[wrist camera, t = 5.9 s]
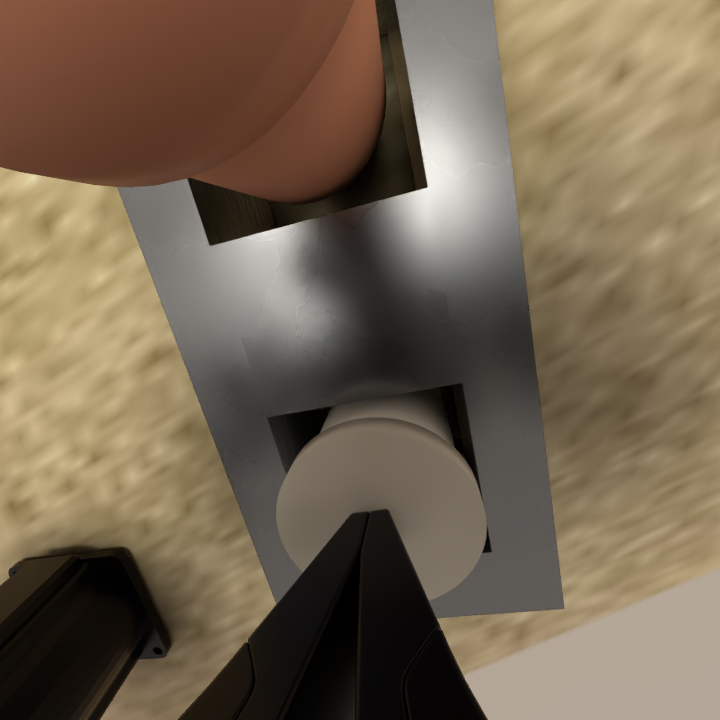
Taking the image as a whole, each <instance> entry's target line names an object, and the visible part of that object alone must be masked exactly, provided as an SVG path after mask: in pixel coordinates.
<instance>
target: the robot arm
mask: <svg viewBox="0 0 720 720" xmlns="http://www.w3.org/2000/svg"><path fill="white" fill-rule="evenodd" d="M9 576H10V578H9V579H8V580H7V581H5V582H4V583H3V584H2V585H1V586H0V720H100V719H101V717H102V715H103V714H104V712H105V711H106V709H107V708H108V706H109V704H110V703H111V701H112V700H113V698H114V697H115V695H116V693H117V692H118V690H119V689H120V687H121V686H122V684H123V682H124V681H125V679H126V678H127V676H128V675H129V673H130V671H131V670H132V668H133V667H134V665H135V664H136V662H137V660H138V659H154V658H164V657H165V656H167V654H168V652H169V650H170V649H171V646H172V644H171V641H170V639H169V637H168V635H167V633H166V631H165V629H164V627H163V625H162V623H161V621H160V619H159V617H158V615H157V613H156V611H155V609H154V607H153V605H152V603H151V601H150V599H149V597H148V595H147V593H146V591H145V589H144V587H143V585H142V583H141V581H140V579H139V577H138V575H137V573H136V571H135V569H134V567H133V565H132V563H131V561H130V559H129V557H128V555H127V554H126V553H125V552H124V551H121V550H118V549H114V550H106V551H98V552H89V553H81V554H73V555H65V556H57V557H48V558H40V559H32V560H24V561H19V562H17V563H16V564H15V565H14V566H13V567H11V568H10V569H9ZM248 643H249V644H248ZM248 643H247V642H246V643H244V644H243V645H242V647H241V648H240V649H239V650H238V652H237V653H236V654H235V655H234V656H233V658H232V659H231V660H230V661H229V662H228V664H227V665H226V666H225V667H224V668H223V669H222V671H221V672H220V673H219V674H218V675H217V676H216V678H215V679H214V680H213V681H212V682H211V683H210V685H209V686H208V687H207V688H206V689H205V690H204V691H203V693H202V694H201V695H200V696H199V697H198V698H197V699H196V700H195V701H194V702H193V703H192V704H191V706H190V707H189V708H188V709H187V710H186V711H185V712H184V713H183V714H182V715H181V716H180V718H179V719H178V720H488V719H487V718H486V716H485V714H484V712H483V711H482V709H481V707H480V705H479V703H478V702H477V700H476V698H475V697H474V695H473V693H472V691H471V689H470V688H469V686H468V684H467V682H466V681H465V678H464V676H463V674H462V672H461V670H460V668H459V666H458V664H457V662H456V660H455V658H454V656H453V654H452V652H451V649H450V647H449V645H448V643H447V640H446V638H445V636H444V633H443V631H442V630H441V628H440V625H439V623H438V620H437V618H436V616H435V614H434V611H433V609H432V607H431V604H430V602H429V600H428V598H427V595H426V593H425V591H424V589H423V586H422V584H421V582H420V579H419V577H418V575H417V573H416V570H415V568H414V566H413V564H412V561H411V559H410V557H409V555H408V552H407V550H406V548H405V545H404V543H403V541H402V539H401V536H400V534H399V532H398V530H397V527H396V525H395V523H394V520H393V518H392V516H391V514H390V511H389V510H388V509H381V510H373V511H371V512H370V513H369V512H368V511H365V512H357V513H352V514H351V515H350V516H349V517H348V518H347V519H346V520H345V522H344V523H343V524H342V525H341V527H340V528H339V529H338V530H337V531H336V533H335V534H334V535H333V536H332V537H331V539H330V540H329V541H328V542H327V544H326V545H325V546H324V547H323V548H322V550H321V551H320V552H319V553H318V555H317V556H316V557H315V558H314V559H313V561H312V562H311V563H310V564H309V565H308V567H307V568H306V569H305V570H304V572H303V573H302V574H301V575H300V576H299V578H298V579H297V580H296V581H295V582H294V584H293V585H292V586H291V587H290V589H289V590H288V591H287V592H286V593H285V595H284V596H283V597H282V598H281V600H280V601H279V602H278V603H277V604H276V606H275V607H274V608H273V609H272V610H271V612H270V613H269V614H268V615H267V617H266V618H265V619H264V620H263V621H262V623H261V624H260V625H259V626H258V627H257V629H256V630H255V631H254V632H253V634H252V635H251V636H250V637H249V639H248Z"/></svg>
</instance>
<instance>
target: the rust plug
mask: <svg viewBox="0 0 720 720" xmlns="http://www.w3.org/2000/svg"><path fill="white" fill-rule="evenodd" d="M385 110H386V84H385V76H384V68H383V60H382V52H381V44H380V36H379V29H378V21H377V13H376V5H375V0H0V167H2V168H6V169H10V170H15V171H19V172H24V173H30V174H35V175H41V176H47V177H52V178H58V179H64V180H70V181H75V182H81V183H87V184H92V185H102V186H113V187H141V186H156V185H160V184H165V183H169V182H174V181H178V180H183V179H187V178H193V179H196V180H200V181H203V182H207V183H210V184H214V185H217V186H221V187H224V188H228V189H231V190H235V191H238V192H242V193H245V194H249V195H252V196H256V197H259V198H263V199H266V200H270V201H273V202H278V203H282V204H291V205H299V204H309V203H314V202H318V201H321V200H323V199H326V198H328V197H330V196H332V195H334V194H336V193H338V192H339V191H341V190H342V189H343V188H345V187H346V186H348V185H349V184H350V183H351V182H352V181H353V180H354V179H355V178H356V177H357V176H358V175H359V173H360V172H361V171H362V170H363V169H364V167H365V166H366V164H367V163H368V161H369V159H370V158H371V156H372V154H373V152H374V150H375V148H376V146H377V144H378V141H379V138H380V135H381V132H382V128H383V123H384V118H385Z"/></svg>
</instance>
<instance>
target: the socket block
mask: <svg viewBox="0 0 720 720" xmlns="http://www.w3.org/2000/svg"><path fill="white" fill-rule="evenodd" d="M375 5H376V13H377V21H378V29H379V36H382V35H385V34H387V35H388V40H389V46H390V51H391V57H392V62H393V67H394V73H395V78H396V84H397V89H398V95H399V100H400V106H401V111H402V116H403V122H404V127H405V133H406V138H407V144H408V149H409V155H410V160H411V165H412V171H413V176H414V182H415V187H416V191H413V192H409V193H405V194H402V195H398V196H394V197H391V198H387V199H383V200H379V201H376V202H372V203H368V204H365V205H361V206H357V207H354V208H350V209H346V210H343V211H339V212H335V213H331V214H328V215H324V216H320V217H317V218H313V219H309V220H306V221H302V222H298V223H294V224H291V225H287V226H283V227H280V228H276V227H275V223H274V220H273V216H272V213H271V209H270V206H269V202H268V200H266V199H263V198H259V197H256V196H252V195H249V194H245V193H242V192H238V191H235V190H231V189H228V188H224V187H221V186H217V185H214V184H210V183H207V182H203V181H200V180H196V179H193V178H187V179H183V180H178V181H174V182H169V183H165V184H160V185H156V186H141V187H117V188H118V190H119V193H120V196H121V198H122V201H123V204H124V206H125V209H126V211H127V214H128V217H129V219H130V222H131V224H132V227H133V230H134V232H135V235H136V238H137V240H138V243H139V245H140V248H141V251H142V253H143V256H144V259H145V261H146V264H147V266H148V269H149V272H150V274H151V277H152V279H153V282H154V285H155V287H156V290H157V293H158V295H159V298H160V300H161V303H162V306H163V308H164V311H165V314H166V316H167V319H168V321H169V324H170V327H171V329H172V332H173V334H174V337H175V340H176V342H177V345H178V348H179V350H180V353H181V355H182V358H183V361H184V363H185V366H186V368H187V371H188V374H189V376H190V379H191V382H192V384H193V387H194V389H195V392H196V395H197V397H198V400H199V403H200V405H201V408H202V410H203V413H204V416H205V418H206V421H207V423H208V426H209V429H210V431H211V434H212V437H213V439H214V442H215V444H216V447H217V450H218V452H219V455H220V458H221V460H222V463H223V465H224V468H225V471H226V473H227V476H228V478H229V481H230V484H231V486H232V489H233V492H234V494H235V497H236V499H237V502H238V505H239V507H240V510H241V512H242V515H243V518H244V520H245V523H246V526H247V528H248V531H249V533H250V536H251V539H252V541H253V544H254V547H255V549H256V552H257V554H258V557H259V560H260V562H261V565H262V567H263V570H264V573H265V575H266V578H267V581H268V583H269V586H270V588H271V591H272V594H273V596H274V599H275V602H276V604H277V603H278V602H279V601H280V600H281V598H282V597H283V596H284V595H285V593H286V592H287V591H288V590H289V589H290V587H291V586H292V585H293V584H294V582H295V581H296V580H297V579H298V578H299V576H300V575H301V574H302V573H303V572H302V571H301V570H300V569H299V568H298V567H297V566H296V564H295V563H294V562H293V561H292V559H291V558H290V556H289V554H288V553H287V551H286V549H285V547H284V545H283V543H282V541H281V538H280V535H279V531H278V527H277V519H276V505H277V500H278V494H279V492H280V489H281V486H282V483H283V481H284V479H285V477H286V475H287V473H288V471H289V470H290V468H291V466H292V464H293V462H294V460H295V458H296V456H297V455H298V454H299V452H300V451H301V450H302V448H303V447H304V446H305V445H306V444H307V443H308V442H309V441H310V440H311V439H313V438H314V437H315V436H317V435H318V434H320V431H321V429H322V427H323V425H324V422H325V420H326V418H327V416H328V410H327V407H330V406H335V405H341V404H347V403H352V402H358V401H364V400H369V399H375V398H380V397H386V396H392V395H397V394H403V393H408V392H414V391H420V390H425V389H431V388H437V387H442V386H448V385H452V388H453V394H454V399H455V405H456V410H457V416H458V421H459V426H460V432H461V437H462V443H463V448H464V451H463V452H459V453H460V454H461V456H462V457H463V458H464V459H465V460H466V462H467V464H468V465H469V467H470V469H471V470H472V472H473V474H474V477H475V479H476V481H477V485H478V488H479V491H480V495H481V498H482V502H483V505H484V509H485V513H486V521H487V532H486V540H485V545H484V549H483V551H482V554H481V556H480V558H479V560H478V562H477V564H476V565H475V567H474V569H473V570H472V571H471V572H470V574H469V575H468V576H467V577H466V578H465V579H464V580H463V581H462V582H461V583H460V584H458V585H457V586H456V587H455V588H453V589H452V590H450V591H449V592H447V593H445V594H443V595H441V596H439V597H437V598H435V599H432V600H430V601H429V602H430V604H431V607H432V609H433V611H434V614H435V616H436V618H445V617H459V616H472V615H486V614H500V613H514V612H527V611H541V610H555V609H564V601H563V593H562V584H561V576H560V568H559V559H558V551H557V542H556V534H555V525H554V517H553V508H552V500H551V491H550V483H549V474H548V466H547V457H546V449H545V440H544V432H543V424H542V415H541V407H540V398H539V390H538V381H537V373H536V364H535V356H534V347H533V339H532V330H531V322H530V313H529V305H528V296H527V288H526V280H525V271H524V263H523V254H522V246H521V237H520V229H519V220H518V212H517V203H516V195H515V186H514V178H513V169H512V161H511V152H510V144H509V135H508V127H507V119H506V110H505V102H504V93H503V85H502V76H501V68H500V59H499V51H498V42H497V34H496V25H495V17H494V8H493V0H375Z"/></svg>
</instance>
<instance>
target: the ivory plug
mask: <svg viewBox="0 0 720 720" xmlns="http://www.w3.org/2000/svg"><path fill="white" fill-rule="evenodd" d="M381 509H388V510H389V511H390V514H391V516H392V518H393V520H394V523H395V525H396V527H397V530H398V532H399V534H400V536H401V539H402V541H403V543H404V545H405V548H406V550H407V552H408V555H409V557H410V559H411V561H412V564H413V566H414V568H415V570H416V573H417V575H418V577H419V579H420V582H421V584H422V586H423V589H424V591H425V593H426V595H427V598H428V600H429V601H430V600H432V599H435V598H437V597H439V596H441V595H443V594H445V593H447V592H449V591H450V590H452V589H453V588H455V587H456V586H457V585H458V584H460V583H461V582H462V581H463V580H464V579H465V578H466V577H467V576H468V575H469V574H470V572H471V571H472V570H473V569H474V567H475V565H476V564H477V562H478V560H479V558H480V556H481V554H482V551H483V549H484V545H485V540H486V532H487V521H486V513H485V509H484V505H483V502H482V498H481V495H480V491H479V488H478V485H477V481H476V479H475V477H474V474H473V472H472V470H471V469H470V467H469V465H468V464H467V462H466V460H465V459H464V458H463V457H462V456H461V454H460V453H459V452H458V451H457V450H456V449H455V446H454V442H453V438H452V433H451V429H450V425H449V421H448V417H447V412H446V408H445V404H444V400H443V396H442V392H441V389H440V387H437V388H431V389H425V390H420V391H414V392H408V393H403V394H397V395H392V396H386V397H380V398H375V399H369V400H364V401H358V402H352V403H347V404H341V405H335V406H332V407H331V409H330V411H329V413H328V416H327V418H326V420H325V422H324V425H323V427H322V429H321V431H320V434H318V435H317V436H315V437H314V438H313V439H311V440H310V441H309V442H308V443H307V444H306V445H305V446H304V447H303V448H302V450H301V451H300V452H299V454H298V455H297V456H296V458H295V460H294V462H293V464H292V466H291V468H290V470H289V471H288V473H287V475H286V477H285V479H284V481H283V483H282V486H281V489H280V492H279V494H278V500H277V505H276V519H277V527H278V531H279V535H280V538H281V541H282V543H283V545H284V547H285V549H286V551H287V553H288V554H289V556H290V558H291V559H292V561H293V562H294V563H295V564H296V566H297V567H298V568H299V569H300V570H301V571H302V572H304V570H305V569H306V568H307V567H308V565H309V564H310V563H311V562H312V561H313V559H314V558H315V557H316V556H317V555H318V553H319V552H320V551H321V550H322V548H323V547H324V546H325V545H326V544H327V542H328V541H329V540H330V539H331V537H332V536H333V535H334V534H335V533H336V531H337V530H338V529H339V528H340V527H341V525H342V524H343V523H344V522H345V520H346V519H347V518H348V517H349V516H350V515H351V514H352V513H357V512H365V511H368V512H369V513H370V512H371V511H373V510H381Z"/></svg>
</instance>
